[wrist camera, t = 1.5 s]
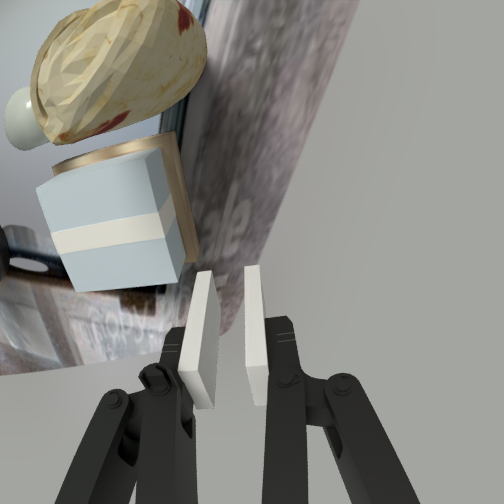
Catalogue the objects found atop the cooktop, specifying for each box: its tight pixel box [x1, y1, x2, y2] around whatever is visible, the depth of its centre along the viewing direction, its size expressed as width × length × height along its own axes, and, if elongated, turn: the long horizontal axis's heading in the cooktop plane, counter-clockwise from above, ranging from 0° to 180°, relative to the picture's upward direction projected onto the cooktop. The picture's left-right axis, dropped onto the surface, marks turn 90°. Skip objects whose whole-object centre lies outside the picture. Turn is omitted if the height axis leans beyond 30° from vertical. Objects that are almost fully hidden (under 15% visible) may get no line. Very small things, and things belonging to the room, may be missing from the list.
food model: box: [30, 0, 207, 145], centre depth 18 cm, size 10×7×20 cm
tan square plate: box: [52, 131, 200, 264], centre depth 32 cm, size 14×14×3 cm
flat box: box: [36, 147, 186, 292], centre depth 28 cm, size 12×12×5 cm
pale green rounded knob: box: [4, 87, 50, 151], centre depth 24 cm, size 6×6×7 cm
